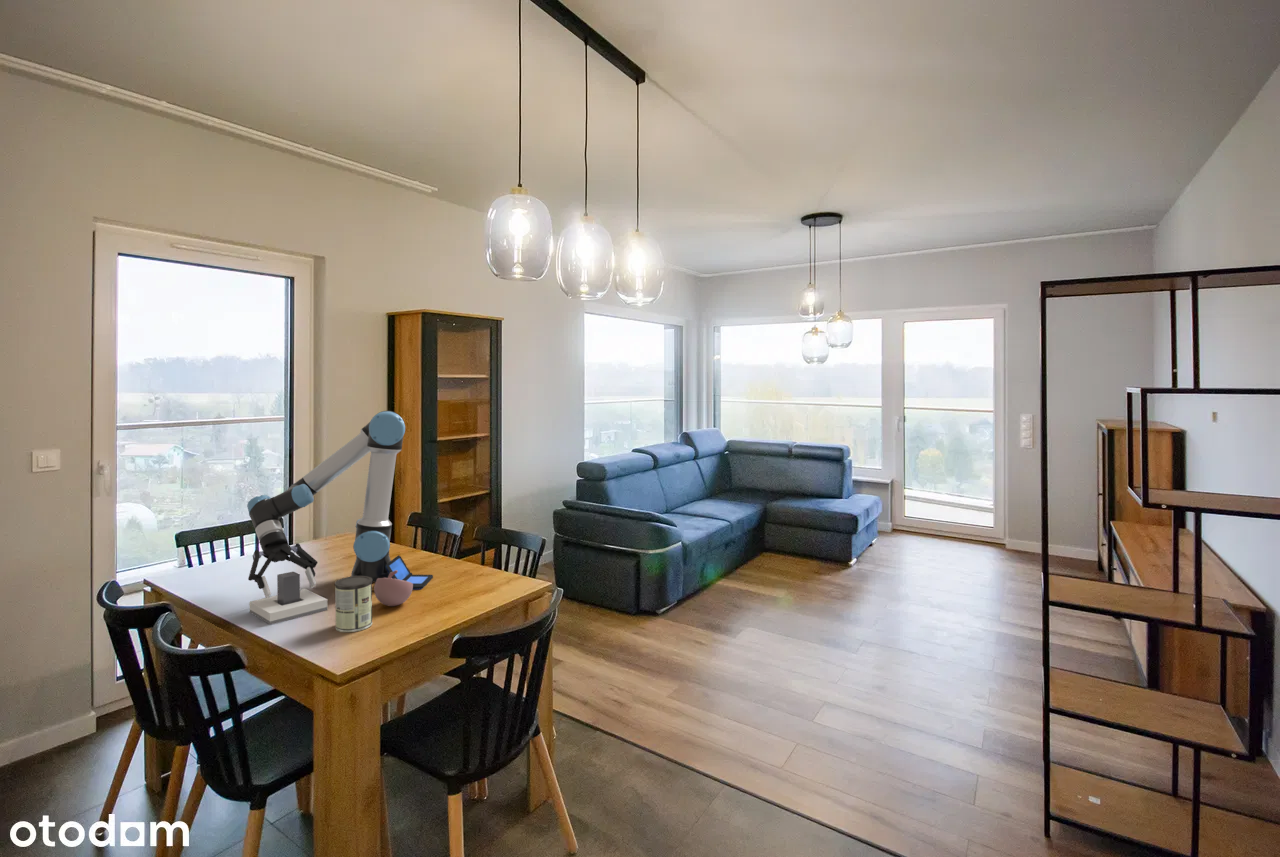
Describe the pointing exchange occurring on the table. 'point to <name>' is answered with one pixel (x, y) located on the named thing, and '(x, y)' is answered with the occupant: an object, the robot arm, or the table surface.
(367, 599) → the coffee can
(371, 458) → the robot arm
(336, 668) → the table surface
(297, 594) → the plug
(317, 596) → the socket
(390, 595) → the mortar and pestle
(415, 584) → the handheld game console
